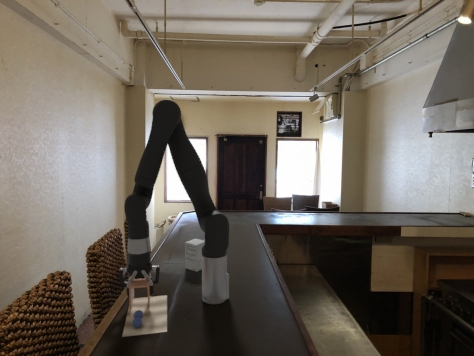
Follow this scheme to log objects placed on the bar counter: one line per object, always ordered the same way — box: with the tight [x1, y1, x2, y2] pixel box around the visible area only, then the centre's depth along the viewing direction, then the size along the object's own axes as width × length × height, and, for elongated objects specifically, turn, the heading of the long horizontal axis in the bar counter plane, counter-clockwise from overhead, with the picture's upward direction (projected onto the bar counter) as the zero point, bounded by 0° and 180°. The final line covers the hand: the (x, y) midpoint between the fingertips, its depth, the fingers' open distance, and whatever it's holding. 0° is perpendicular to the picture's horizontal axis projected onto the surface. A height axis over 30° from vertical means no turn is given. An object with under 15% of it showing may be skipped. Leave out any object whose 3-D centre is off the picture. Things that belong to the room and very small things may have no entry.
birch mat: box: [121, 295, 168, 338], centre depth 108 cm, size 24×13×1 cm, turn 12°
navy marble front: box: [132, 317, 142, 328], centre depth 100 cm, size 3×3×3 cm
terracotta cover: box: [128, 278, 152, 310], centre depth 113 cm, size 10×6×8 cm, turn 12°
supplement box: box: [184, 238, 205, 272], centre depth 150 cm, size 7×7×13 cm
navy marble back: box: [134, 310, 143, 319], centre depth 104 cm, size 3×3×3 cm
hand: (140, 295), depth 113 cm, fingers closed on terracotta cover, 6 cm apart
